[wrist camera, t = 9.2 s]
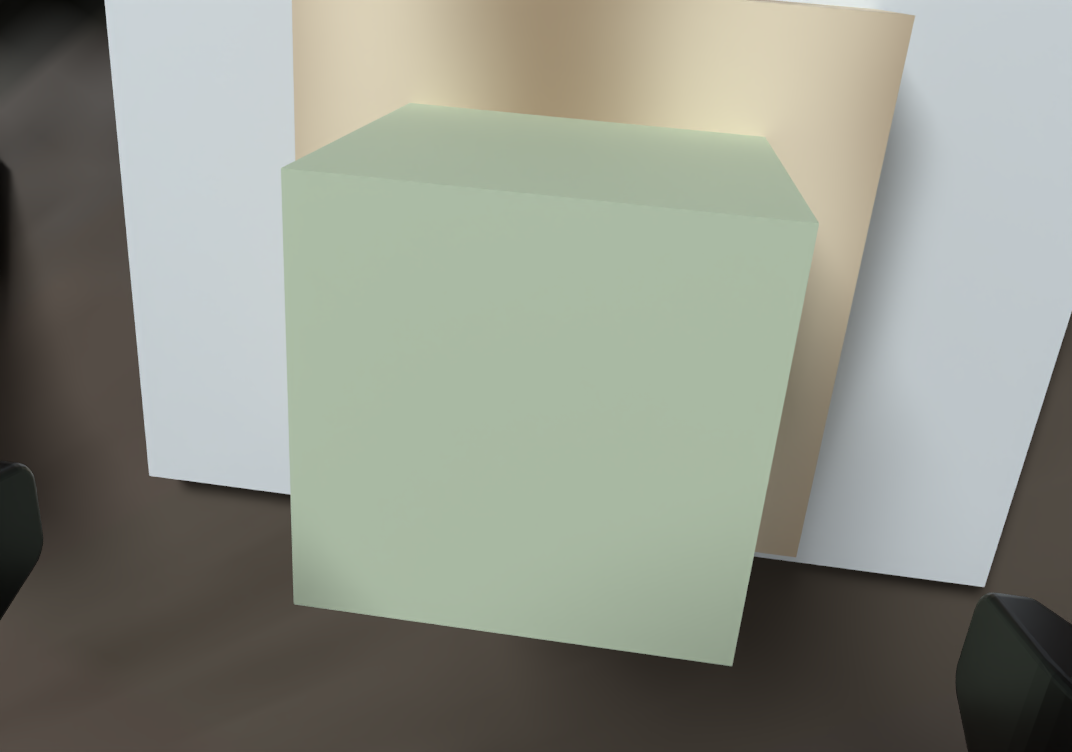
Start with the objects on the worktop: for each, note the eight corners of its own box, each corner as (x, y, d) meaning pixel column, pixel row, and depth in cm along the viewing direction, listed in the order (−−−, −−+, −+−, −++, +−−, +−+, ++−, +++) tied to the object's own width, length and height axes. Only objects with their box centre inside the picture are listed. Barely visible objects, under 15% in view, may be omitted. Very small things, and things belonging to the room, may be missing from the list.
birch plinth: (875, 9, 18) (914, 15, 15) (779, 483, 22) (796, 557, 19) (346, -37, 18) (291, -39, 16) (346, 427, 22) (302, 491, 20)
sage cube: (765, 137, 16) (818, 223, 10) (711, 457, 18) (732, 666, 13) (409, 103, 16) (280, 168, 11) (402, 419, 19) (293, 604, 13)
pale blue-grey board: (1170, -87, 17) (1198, -90, 16) (971, 562, 23) (984, 586, 22) (116, -168, 19) (88, -174, 18) (168, 456, 24) (149, 475, 24)
